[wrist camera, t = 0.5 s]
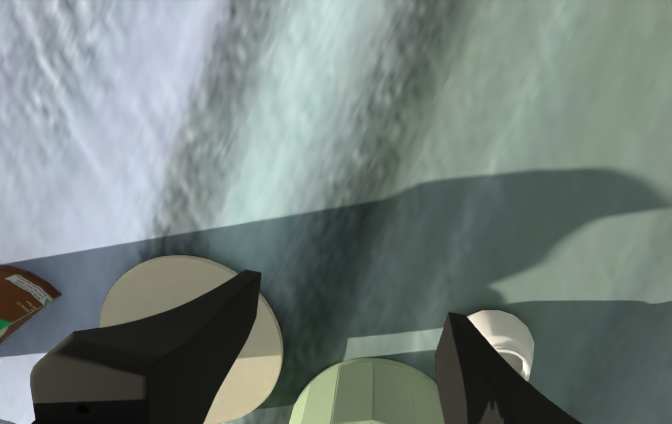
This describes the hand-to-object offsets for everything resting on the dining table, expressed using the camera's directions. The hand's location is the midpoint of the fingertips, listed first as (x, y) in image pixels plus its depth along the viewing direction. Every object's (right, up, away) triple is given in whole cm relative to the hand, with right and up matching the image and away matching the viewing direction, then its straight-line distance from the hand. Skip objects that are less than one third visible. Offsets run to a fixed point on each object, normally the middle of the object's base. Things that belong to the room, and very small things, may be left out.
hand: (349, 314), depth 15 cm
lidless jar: (+9, -4, +10) cm, 14 cm away
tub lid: (-10, -5, +12) cm, 16 cm away
